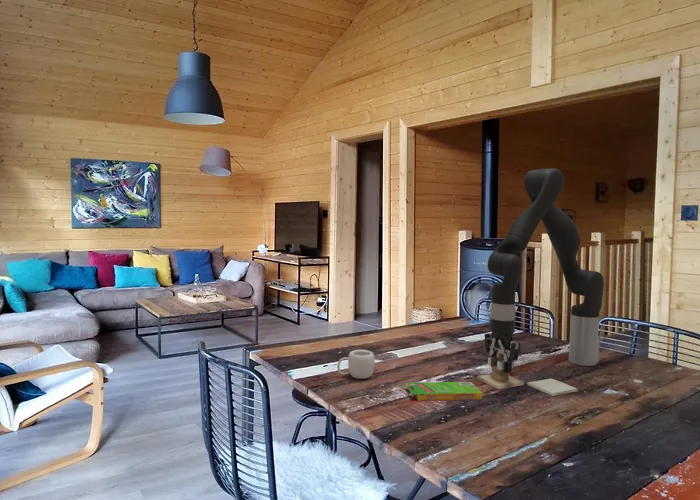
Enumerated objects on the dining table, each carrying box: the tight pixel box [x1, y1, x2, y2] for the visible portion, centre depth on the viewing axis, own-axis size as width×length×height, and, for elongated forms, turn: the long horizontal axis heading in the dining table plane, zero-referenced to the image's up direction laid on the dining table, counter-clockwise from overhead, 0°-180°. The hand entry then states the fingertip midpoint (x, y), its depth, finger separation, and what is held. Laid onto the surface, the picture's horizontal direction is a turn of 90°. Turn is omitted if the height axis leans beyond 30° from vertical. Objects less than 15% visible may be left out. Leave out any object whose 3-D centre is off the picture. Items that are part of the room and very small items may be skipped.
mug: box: [336, 349, 375, 380], centre depth 163 cm, size 12×8×8 cm
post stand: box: [476, 353, 525, 390], centre depth 159 cm, size 10×10×9 cm
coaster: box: [527, 378, 578, 397], centre depth 155 cm, size 10×10×1 cm
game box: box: [405, 381, 483, 402], centre depth 149 cm, size 3×10×20 cm
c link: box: [487, 356, 515, 370], centre depth 159 cm, size 6×6×2 cm
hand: (500, 369), depth 160 cm, fingers closed on c link, 5 cm apart
